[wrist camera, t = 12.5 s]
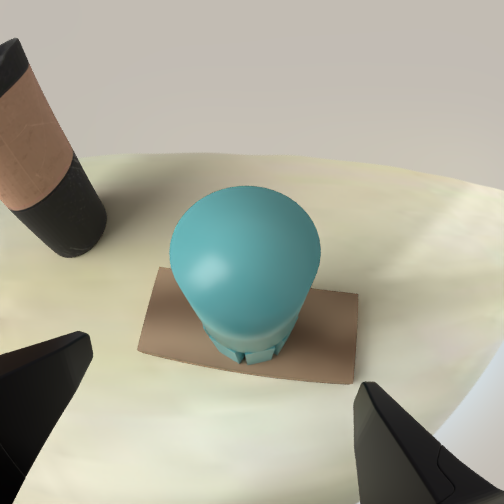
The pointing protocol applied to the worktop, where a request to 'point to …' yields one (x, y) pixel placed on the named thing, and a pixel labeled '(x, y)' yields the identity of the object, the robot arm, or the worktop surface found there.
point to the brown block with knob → (280, 366)
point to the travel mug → (42, 164)
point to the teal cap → (246, 268)
